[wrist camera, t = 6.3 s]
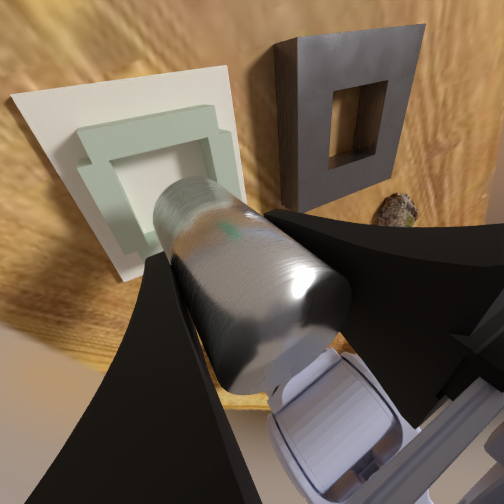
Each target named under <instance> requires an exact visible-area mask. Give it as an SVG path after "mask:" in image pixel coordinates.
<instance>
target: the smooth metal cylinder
mask: <svg viewBox="0 0 504 504" xmlns="http://www.w3.org/2000/svg"><path fill="white" fill-rule="evenodd" d="M153 225H154V229H155V232H156V234H157V236H158V239H159V241H160V244H161V246H162V248H163V251H165V254H166V256H167V258H168V261H169V263H170V265H171V268H172V270H173V272H174V275H175V277H176V279H177V282H178V285H179V288H180V291H181V294H182V296H183V298H184V301H185V303H186V306H187V308H188V310H189V313H190V315H191V317H192V320H193V322H194V325H195V327H196V329H197V332H198V334H199V336H200V339H201V341H202V344H203V346H204V348H205V351H206V353H207V355H208V358H209V360H210V363H211V365H212V367H213V370H214V372H215V375H216V377H217V379H218V382H219V383H220V385H221V387H222V388H223V389H225V390H226V391H228V392H229V393H232V394H236V395H251V394H257V393H260V392H264V391H267V390H269V389H272V388H274V387H276V386H279V385H280V384H282V383H284V382H286V381H288V380H289V379H291V378H293V377H294V376H295V375H297V374H298V373H300V372H301V371H302V370H304V369H305V368H306V367H308V366H309V365H310V364H311V363H312V362H313V361H314V360H315V359H317V358H318V357H319V356H320V355H321V354H322V353H323V351H324V350H325V349H326V348H327V347H328V346H329V345H330V343H331V342H332V341H333V340H334V338H335V337H336V335H337V334H338V332H339V331H340V329H341V327H342V326H343V324H344V322H345V320H346V318H347V315H348V313H349V310H350V306H351V300H352V291H351V286H350V284H349V282H348V281H347V279H346V278H345V277H344V276H342V275H341V274H339V273H338V272H337V271H335V270H334V269H333V268H331V267H330V266H329V265H327V264H326V263H325V262H323V261H322V260H321V259H319V258H318V257H317V256H315V255H314V254H313V253H311V252H310V251H308V250H307V249H306V248H304V247H303V246H302V245H300V244H299V243H298V242H296V241H295V240H294V239H292V238H291V237H290V236H288V235H287V234H286V233H284V232H283V231H282V230H280V229H279V228H277V227H276V226H275V225H273V224H272V223H271V222H269V221H268V220H267V219H265V218H264V217H263V216H261V215H260V214H259V213H257V212H256V211H255V210H253V209H252V208H250V207H249V206H248V205H246V204H245V203H244V202H242V201H241V200H240V199H238V198H237V197H236V196H234V195H233V194H232V193H230V192H229V191H228V190H226V189H225V188H224V187H222V186H221V185H219V184H218V183H217V182H215V181H213V180H211V179H208V178H204V177H188V178H183V179H181V180H178V181H176V182H174V183H173V184H171V185H170V186H168V187H167V188H166V189H165V190H164V191H163V192H162V193H161V195H160V196H159V198H158V199H157V202H156V204H155V207H154V210H153Z"/></svg>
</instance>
